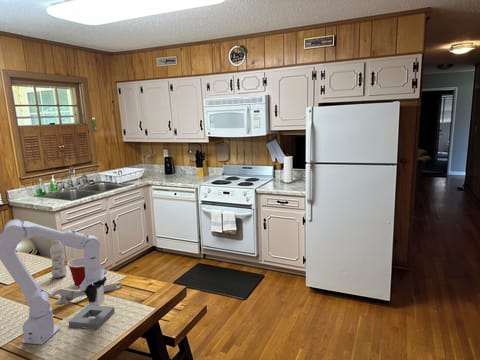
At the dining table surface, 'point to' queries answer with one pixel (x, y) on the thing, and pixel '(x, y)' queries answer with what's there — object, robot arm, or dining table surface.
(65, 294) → the wrench
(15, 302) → the dining table surface
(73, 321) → the socket block
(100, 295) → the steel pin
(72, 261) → the plastic cup
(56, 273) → the plastic bottle
